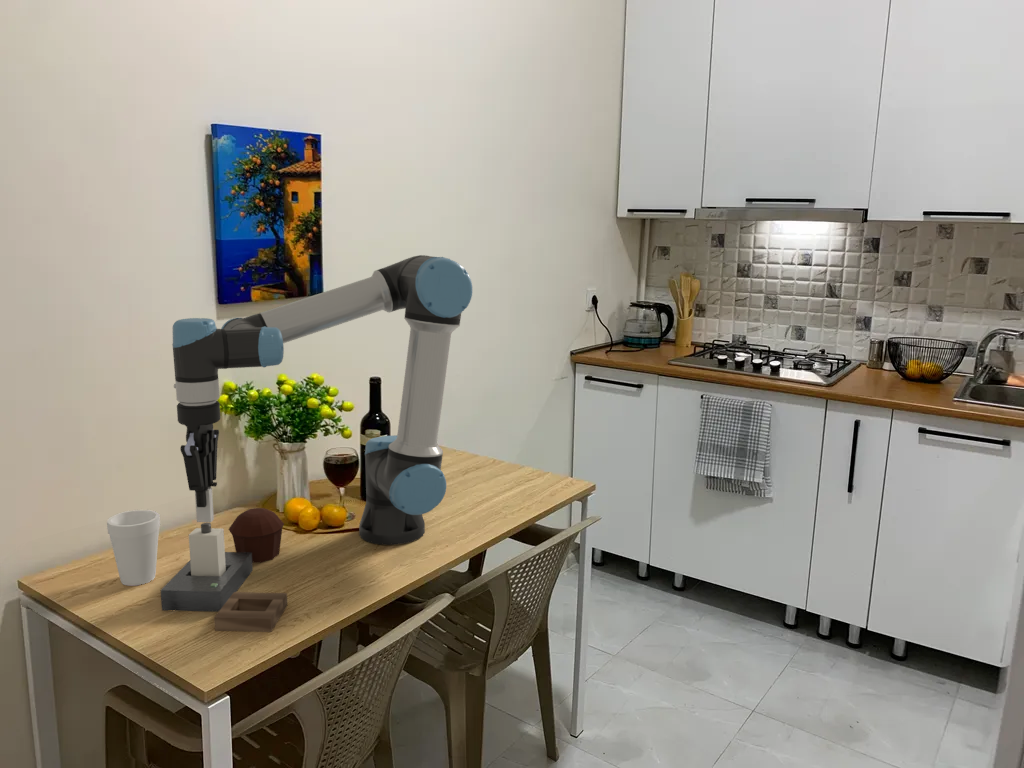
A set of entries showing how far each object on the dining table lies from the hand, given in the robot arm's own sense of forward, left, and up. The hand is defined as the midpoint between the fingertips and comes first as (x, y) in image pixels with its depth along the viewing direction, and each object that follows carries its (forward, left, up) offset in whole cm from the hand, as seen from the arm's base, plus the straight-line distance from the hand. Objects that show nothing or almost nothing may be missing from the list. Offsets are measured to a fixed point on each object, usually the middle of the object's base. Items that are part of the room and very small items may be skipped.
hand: (205, 520), depth 156 cm
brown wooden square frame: (-12, +11, -14) cm, 22 cm away
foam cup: (+16, -4, -15) cm, 22 cm away
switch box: (0, 0, -14) cm, 14 cm away
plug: (0, 0, -14) cm, 14 cm away
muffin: (-4, -17, -15) cm, 23 cm away
